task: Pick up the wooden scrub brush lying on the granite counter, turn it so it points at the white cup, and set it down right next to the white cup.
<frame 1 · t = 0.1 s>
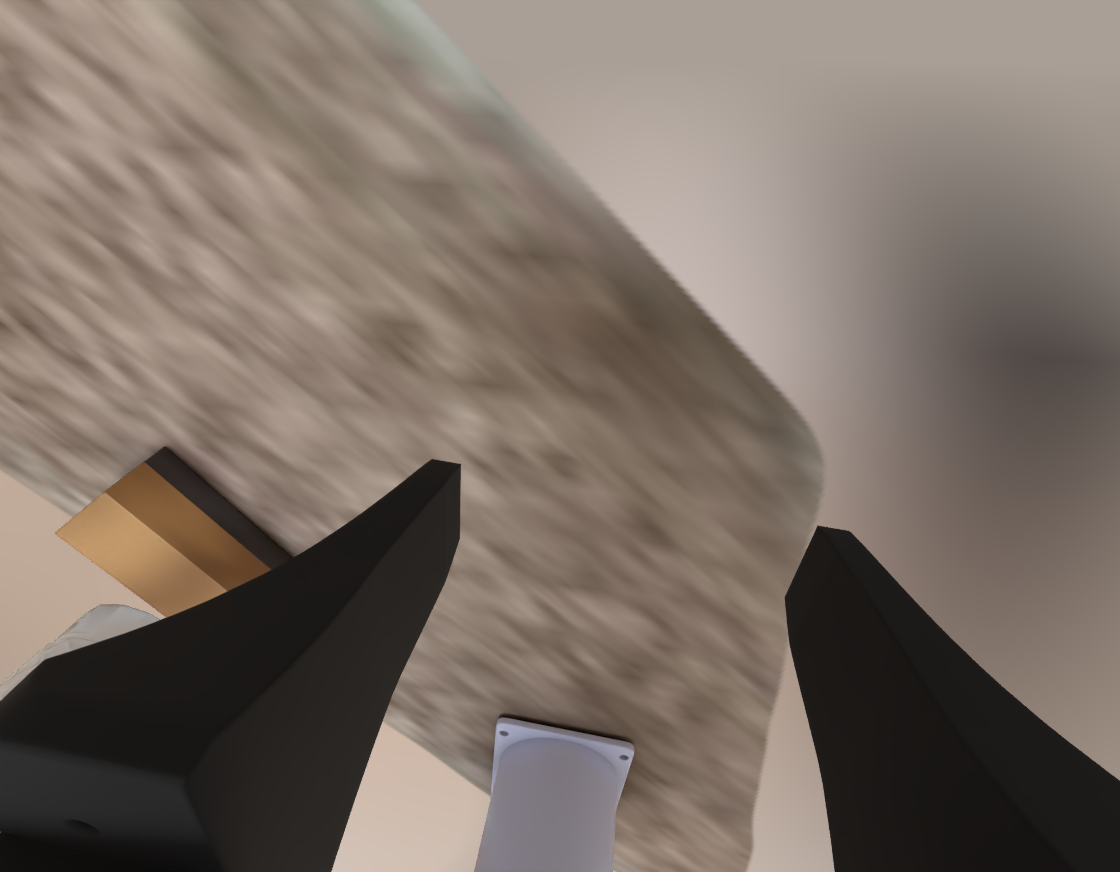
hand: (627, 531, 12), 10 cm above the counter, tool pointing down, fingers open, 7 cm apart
scrub brush: (234, 542, 29), on the counter
white cup: (144, 638, 35), on the counter
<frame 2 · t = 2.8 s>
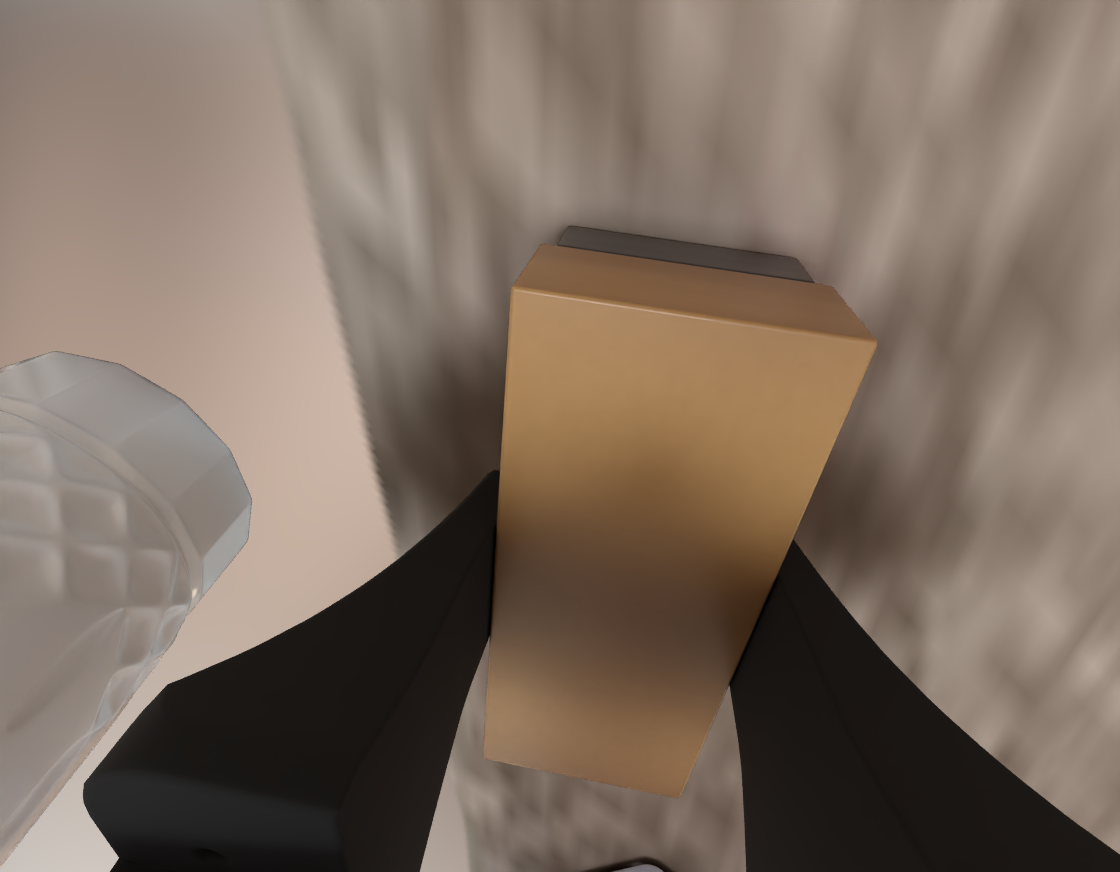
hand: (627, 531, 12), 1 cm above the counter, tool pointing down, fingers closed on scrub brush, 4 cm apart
scrub brush: (628, 489, 13), on the counter, touching gripper
white cup: (136, 465, 15), on the counter
when the fingers open (1 cm above the counter, at t = 8.6 s): scrub brush stays where it is, on the counter.
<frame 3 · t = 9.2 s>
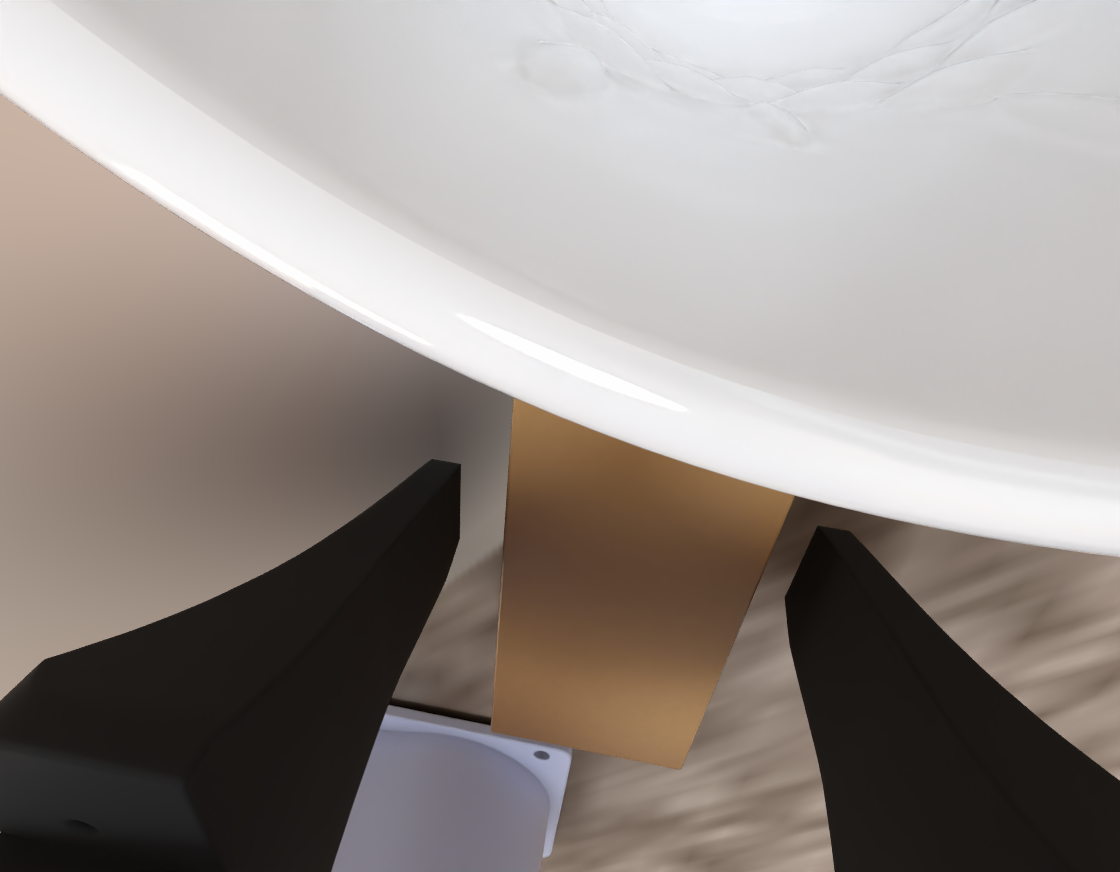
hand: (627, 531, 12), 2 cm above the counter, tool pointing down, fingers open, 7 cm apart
scrub brush: (631, 472, 13), on the counter
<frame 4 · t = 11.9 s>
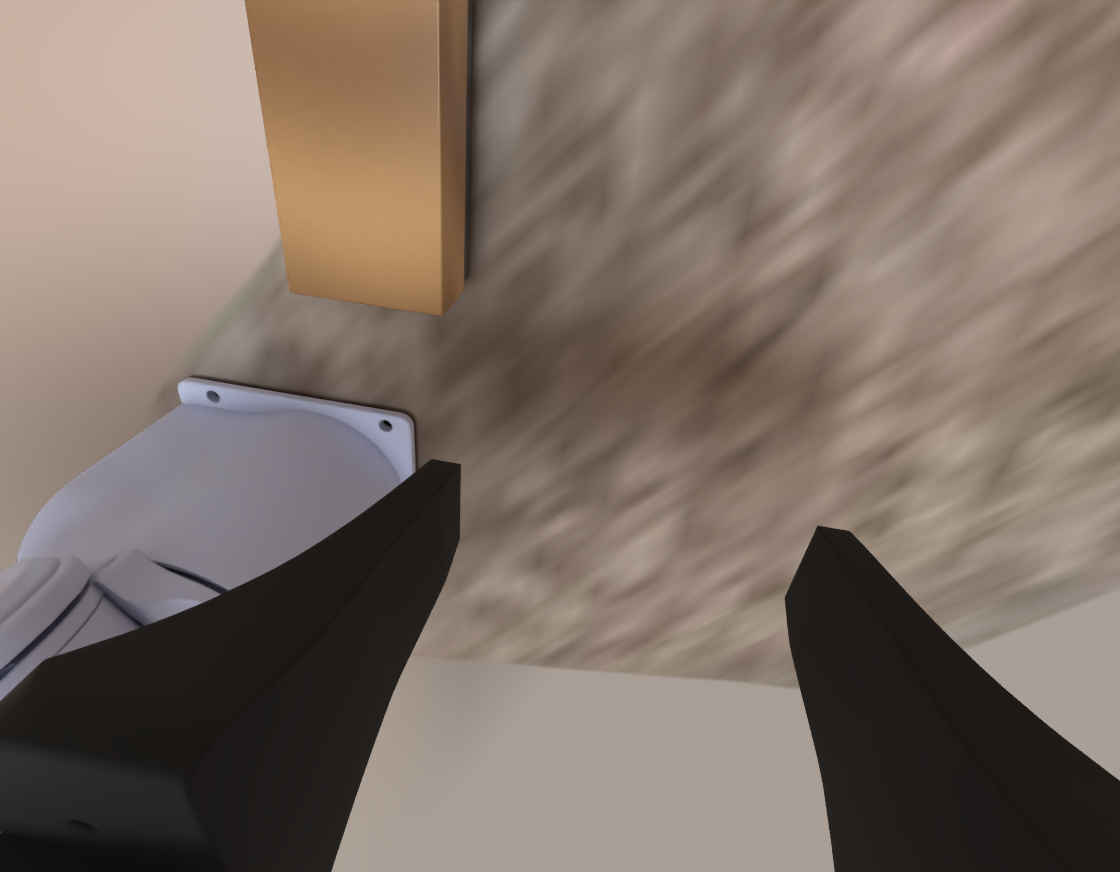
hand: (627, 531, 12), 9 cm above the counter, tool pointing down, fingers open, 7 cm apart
scrub brush: (403, 76, 16), on the counter
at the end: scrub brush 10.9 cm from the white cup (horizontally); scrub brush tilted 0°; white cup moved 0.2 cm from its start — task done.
